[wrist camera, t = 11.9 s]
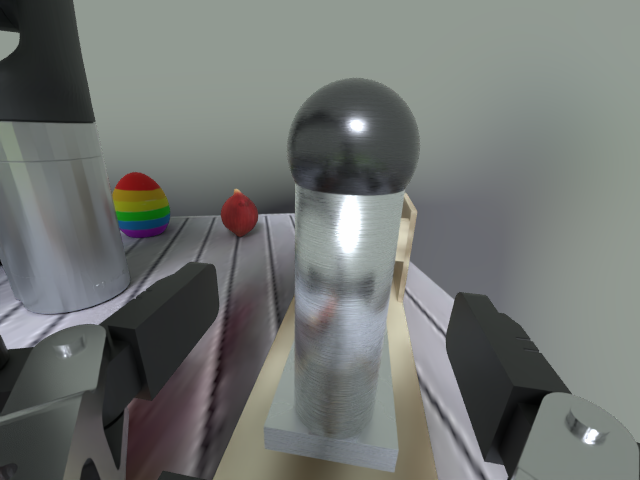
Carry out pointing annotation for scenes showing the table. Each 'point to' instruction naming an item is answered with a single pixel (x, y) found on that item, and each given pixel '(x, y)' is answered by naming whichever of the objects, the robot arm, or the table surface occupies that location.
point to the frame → (412, 432)
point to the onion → (239, 214)
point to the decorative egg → (140, 206)
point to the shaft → (344, 274)
